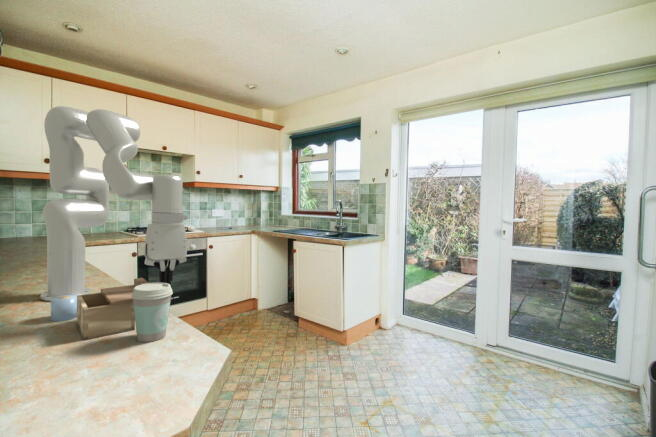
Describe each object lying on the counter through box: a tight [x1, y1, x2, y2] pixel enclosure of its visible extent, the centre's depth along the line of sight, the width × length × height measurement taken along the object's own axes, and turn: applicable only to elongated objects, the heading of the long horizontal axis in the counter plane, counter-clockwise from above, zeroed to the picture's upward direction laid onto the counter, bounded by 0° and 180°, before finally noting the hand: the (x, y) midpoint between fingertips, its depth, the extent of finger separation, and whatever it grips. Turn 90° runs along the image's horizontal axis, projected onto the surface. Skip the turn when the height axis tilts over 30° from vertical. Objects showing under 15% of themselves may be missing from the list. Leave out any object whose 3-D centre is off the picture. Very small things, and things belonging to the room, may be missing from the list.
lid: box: [100, 277, 150, 305], centre depth 82 cm, size 14×10×3 cm
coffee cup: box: [131, 282, 174, 343], centre depth 74 cm, size 8×8×12 cm
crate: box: [76, 291, 136, 341], centre depth 79 cm, size 14×10×7 cm
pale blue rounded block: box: [50, 295, 77, 323], centre depth 84 cm, size 6×6×6 cm
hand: (165, 284), depth 89 cm, fingers closed
